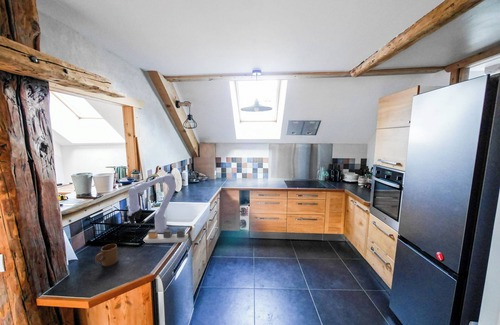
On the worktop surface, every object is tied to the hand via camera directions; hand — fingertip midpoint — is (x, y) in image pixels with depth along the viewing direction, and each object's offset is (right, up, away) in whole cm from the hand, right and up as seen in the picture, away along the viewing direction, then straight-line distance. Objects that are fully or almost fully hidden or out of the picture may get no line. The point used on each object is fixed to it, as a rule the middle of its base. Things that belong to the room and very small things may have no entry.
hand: (135, 221), depth 148 cm
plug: (+17, -11, -7) cm, 21 cm away
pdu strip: (+25, -11, -7) cm, 29 cm away
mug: (+3, -15, -34) cm, 37 cm away
